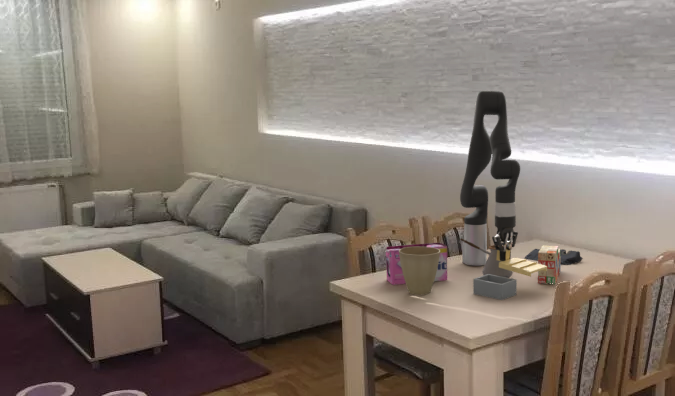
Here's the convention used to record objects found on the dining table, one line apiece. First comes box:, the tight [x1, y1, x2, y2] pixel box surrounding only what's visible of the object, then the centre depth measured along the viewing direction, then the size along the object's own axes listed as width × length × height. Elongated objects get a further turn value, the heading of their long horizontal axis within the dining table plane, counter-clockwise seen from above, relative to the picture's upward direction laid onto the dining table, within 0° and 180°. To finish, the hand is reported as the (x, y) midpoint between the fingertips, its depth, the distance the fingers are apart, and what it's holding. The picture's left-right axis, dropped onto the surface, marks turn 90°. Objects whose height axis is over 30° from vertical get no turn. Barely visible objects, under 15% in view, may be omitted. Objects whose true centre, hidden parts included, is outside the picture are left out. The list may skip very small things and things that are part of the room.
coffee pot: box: [458, 238, 514, 278], centre depth 278 cm, size 21×12×15 cm, turn 59°
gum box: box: [385, 242, 448, 286], centre depth 278 cm, size 24×8×14 cm, turn 103°
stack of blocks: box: [537, 244, 562, 285], centre depth 277 cm, size 21×6×12 cm, turn 157°
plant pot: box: [399, 246, 440, 296], centre depth 259 cm, size 15×15×16 cm
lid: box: [496, 249, 547, 277], centre depth 261 cm, size 17×11×5 cm, turn 43°
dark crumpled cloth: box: [523, 248, 583, 266], centre depth 306 cm, size 15×22×5 cm
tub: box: [472, 274, 518, 301], centre depth 254 cm, size 12×9×6 cm
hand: (505, 260), depth 265 cm, fingers closed on lid, 2 cm apart
